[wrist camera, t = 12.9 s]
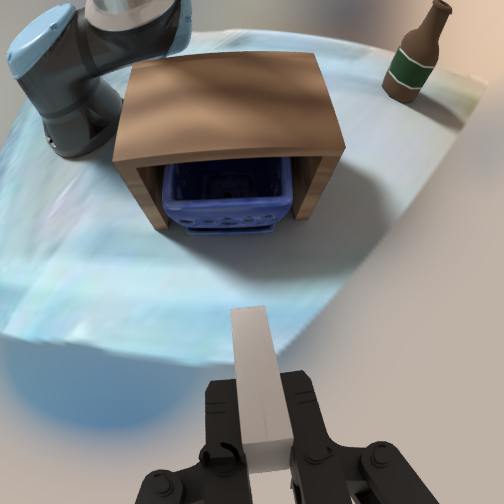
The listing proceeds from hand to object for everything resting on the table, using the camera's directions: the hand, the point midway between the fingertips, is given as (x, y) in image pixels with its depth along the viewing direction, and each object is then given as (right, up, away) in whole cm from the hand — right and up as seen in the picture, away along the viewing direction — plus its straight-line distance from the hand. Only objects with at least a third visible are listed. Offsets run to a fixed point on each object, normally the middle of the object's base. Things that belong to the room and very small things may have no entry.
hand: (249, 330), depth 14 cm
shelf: (-3, +14, +29) cm, 33 cm away
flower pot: (-3, +11, +28) cm, 31 cm away
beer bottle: (+30, +36, +38) cm, 60 cm away
